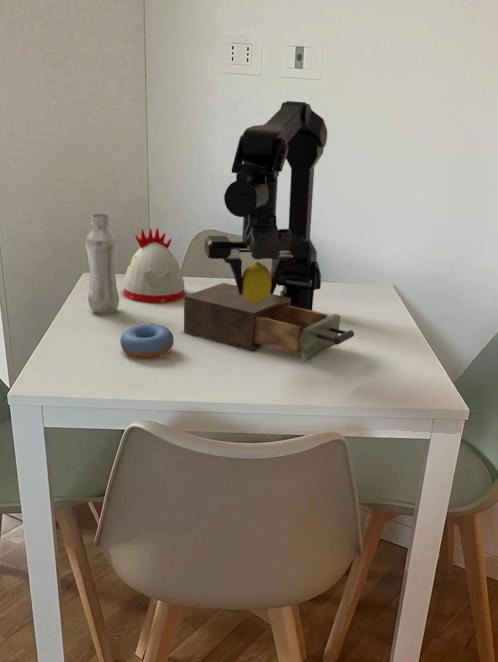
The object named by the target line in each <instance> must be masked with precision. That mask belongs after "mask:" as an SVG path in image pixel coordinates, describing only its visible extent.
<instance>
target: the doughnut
mask: <svg viewBox="0 0 498 662" xmlns="http://www.w3.org/2000/svg"><path fill="white" fill-rule="evenodd" d="M174 340H175V339H174V335H173V332H172V331H171V330H170V329H169V328H168V327H166V326H164V325H162V324H159V323H140V324H136V325H132V326H130V327H128V328H126V330H124V331H123V332H122V333H121V335H120V339H119V341H120V342H119V343H120V347H121V349H122V351H123V352H124V353H125V354H126V355H128V356H130V357H133V358H135V359H152V358H158V357H161V356H164V355H165V354H168V352H170V351H171V349H172V348H173V347H174Z"/></svg>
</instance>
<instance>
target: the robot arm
mask: <svg viewBox="0 0 498 662" xmlns="http://www.w3.org/2000/svg"><path fill="white" fill-rule="evenodd" d="M326 125H327V124H326V123H325V120H324V118H323V117H322V116H320V115H319V114H317V113H316V112H315V111H313V109H312V106H311V104H309V103H307V102H306V101H292V100H286V101H285V102H283V101H282V103H281V106H280V109H278V111H277V112H276V113H275V114H273V116H271V117H270V119H268V120H267V121H266V122H265V123H264V124H259V125H252V126H249V127H247V128H245V130H244V131H243V132H242V135H240V136H239V139H238V144H237V146H236V151H235V155H234V160H233V162H232V166H231V173H232V174H235V181H233V182H231V183H229V185H228V186H227V188H226V190H225V192H224V196H223V199H224V204H225V207H226V209H227V210H228V212H229V213H230V214H231V215H233V216H236V217H238V218H242V234H241V235H242V236H241V238H242V240H241V241H240V240H239V241H236V240H235V241H231V240H230V238H229V237H228V236H227V235H207V237H206V238H205V239H204V252H205V254H206V256H207V259H211V260H215V259H216V260H219V259H221V260H223V261H224V262H225V263H226V264H229V266H230V268H231V271H232V274H233V277H234V281H235V285H236V286H237V288H238V291H239V294H240V295H242V289H243V286H242V276H243V273H242V272H243V271H242V265H243V260H242V259H241V257H240V254H241V253H251V254H250V255H251V258H253V260H257V261H259V260H263V259H270V260H271V267H270V275H271V290H270V294H274V293H275V290H276V288H277V286H280V287H281V286H282V290H280V292H279V296H284V297H288V298H291V302H290V306H294V307H298V308H303V309H307V310H311V311H313V306H314V305H313V304H314V293H315V291H316V290H320V289H321V285H322V273H321V269H320V265H319V262H318V261H317V260H318V259H317V258H318V257H317V255H318V253H317V252H318V251H317V249H316V248H315V246H314V244H313V242H312V240H311V229H312V228H311V225H312V212H313V211H312V209H313V197H314V195H313V194H314V181H315V180H314V179H315V178H314V176H315V166H316V165H317V163H318V162H319V161H320V159H321V158H322V156H323V154H324V149H325V147H326V145H327V142H328V141H327V140H328V128H327V126H326ZM285 162H287V164H288V165H289V167H290V190H289V208H288V213H289V214H288V228H280V229H278V226H277V200H278V199H277V198H278V181H279V180H278V177H279V176H280V172H281V173H282V172H283V169H284V166H285Z"/></svg>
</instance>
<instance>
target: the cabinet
mask: <svg viewBox="0 0 498 662" xmlns="http://www.w3.org/2000/svg"><path fill="white" fill-rule="evenodd" d="M290 302H291V298H288V297H284V296H280V294H274V293H273V294H270V293H269V295H268V297H267V298H266V299H265V300H263V301H261V302H259V303H258V304H257V305H254V304H253V303H252V302H251V301H250V300H248V299H247V298H246V297H245V296H244V294H243V292H242V295H240V294H239V291H238V288H237V284H231V283H227V282H222V283H219V284H216V285H214V286H209V287H206V288H204V289H201V290H198V291H196V292H192V293H188V294H186V295H184V297H183V304H184V305H183V333H184V334H187V335H190V336H195V337H197V338H201V339H205V340H208V341H213V342H216V343H220V344H224V345H227V346H231V347H234V348H238V349H242V350H245V351H250V352H253V351H256V350H257V349H260V348H262V347H264V346H263V345H259V344H256V343H254V338H255V319H256V316H257V315H260V314H262V313H265V312H267V311H269V310H272V309H274V308H277V307H279V306H282V305H284V304H286V305H290Z"/></svg>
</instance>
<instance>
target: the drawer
mask: <svg viewBox="0 0 498 662" xmlns="http://www.w3.org/2000/svg"><path fill="white" fill-rule="evenodd" d="M340 323H341V314H338V313H334V314H332V315H330V316H328V313H324V312H319V311H316V310H312V311H311V310H307V309H303V308H298V307H294V306H290V305H286V304H284V305H282V306H279V307H277V308H274V309H272V310H269V311H267V312H265V313H262V314H260V315H257V316H256V319H255V338H254V343H256V344H259V345H263V346H262V347H267V348H270V349H275V350H279V351H283V352H287V353H290V354H293V355H299V354H300V359H301V360H305V361H307V360H309V359H311V358H313V357H315V356H316V355H318V354H321V353H322V352H324V351H326V350H328V349H330V348H332V347H334V346H338V345H340V344H343V343H344V342H346V341H347V340H350V339H351V338H354V336H355V332H354V330H352V329H349V330H344V329H340V325H341V324H340Z"/></svg>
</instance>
